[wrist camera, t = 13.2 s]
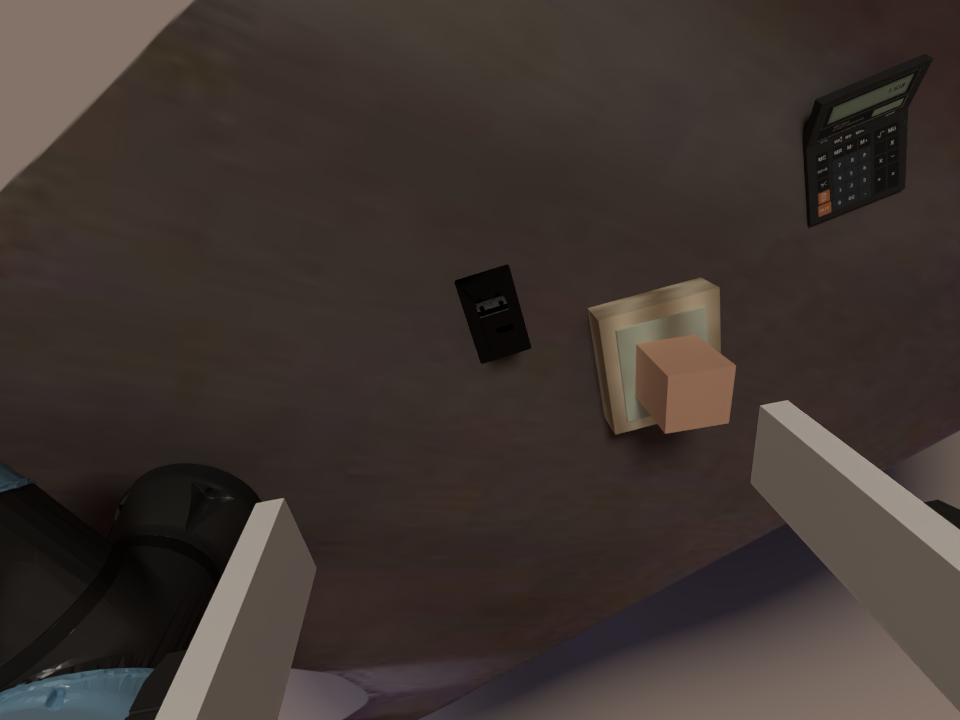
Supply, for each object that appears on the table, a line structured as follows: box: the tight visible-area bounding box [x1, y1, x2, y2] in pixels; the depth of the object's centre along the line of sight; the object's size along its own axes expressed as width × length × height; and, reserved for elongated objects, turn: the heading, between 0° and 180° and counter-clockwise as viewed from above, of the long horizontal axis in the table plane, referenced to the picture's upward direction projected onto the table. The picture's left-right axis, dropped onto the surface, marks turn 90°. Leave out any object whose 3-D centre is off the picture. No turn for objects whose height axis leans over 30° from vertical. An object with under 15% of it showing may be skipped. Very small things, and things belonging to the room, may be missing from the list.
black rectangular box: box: [455, 265, 531, 364], centre depth 46 cm, size 12×7×5 cm, turn 16°
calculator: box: [803, 54, 933, 226], centre depth 43 cm, size 9×12×3 cm
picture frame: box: [588, 278, 721, 435], centre depth 50 cm, size 12×14×4 cm
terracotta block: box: [635, 334, 736, 434], centre depth 45 cm, size 6×6×7 cm
